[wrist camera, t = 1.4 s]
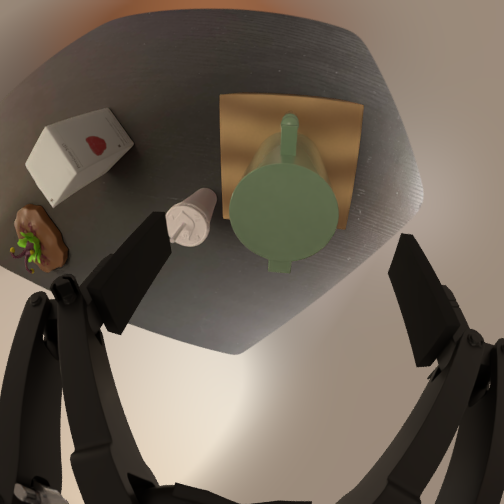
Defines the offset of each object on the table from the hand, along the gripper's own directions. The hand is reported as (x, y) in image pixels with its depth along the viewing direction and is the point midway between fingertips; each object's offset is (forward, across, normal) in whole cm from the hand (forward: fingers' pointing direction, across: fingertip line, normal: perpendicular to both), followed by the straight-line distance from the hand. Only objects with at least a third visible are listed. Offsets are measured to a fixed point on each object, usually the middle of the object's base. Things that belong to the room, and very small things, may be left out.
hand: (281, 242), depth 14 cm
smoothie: (+27, -13, -10) cm, 32 cm away
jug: (+15, 0, 0) cm, 15 cm away
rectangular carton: (+27, -31, +1) cm, 41 cm away
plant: (+27, -62, -21) cm, 71 cm away
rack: (+27, 0, 0) cm, 27 cm away
